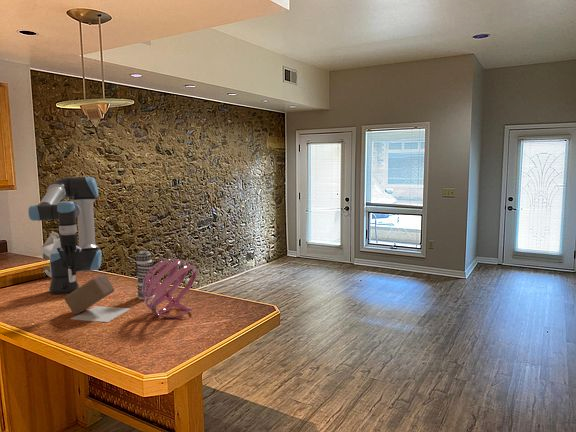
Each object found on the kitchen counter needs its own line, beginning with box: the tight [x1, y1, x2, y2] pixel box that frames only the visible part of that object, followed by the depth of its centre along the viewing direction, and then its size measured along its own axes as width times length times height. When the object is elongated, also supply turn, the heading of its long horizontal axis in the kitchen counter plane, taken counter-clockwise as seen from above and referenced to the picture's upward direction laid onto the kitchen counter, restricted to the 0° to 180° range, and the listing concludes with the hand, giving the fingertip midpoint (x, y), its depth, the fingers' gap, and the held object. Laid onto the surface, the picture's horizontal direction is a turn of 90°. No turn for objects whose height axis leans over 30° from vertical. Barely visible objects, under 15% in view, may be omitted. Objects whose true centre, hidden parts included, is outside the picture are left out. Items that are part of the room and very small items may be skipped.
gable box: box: [40, 230, 61, 279], centre depth 287 cm, size 22×13×28 cm, turn 42°
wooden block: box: [64, 273, 116, 315], centre depth 212 cm, size 10×10×20 cm
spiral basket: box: [142, 257, 198, 319], centre depth 209 cm, size 28×28×27 cm
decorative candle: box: [134, 250, 155, 300], centre depth 235 cm, size 9×9×25 cm
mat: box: [70, 305, 131, 323], centre depth 212 cm, size 18×20×1 cm
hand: (72, 281), depth 213 cm, fingers closed
